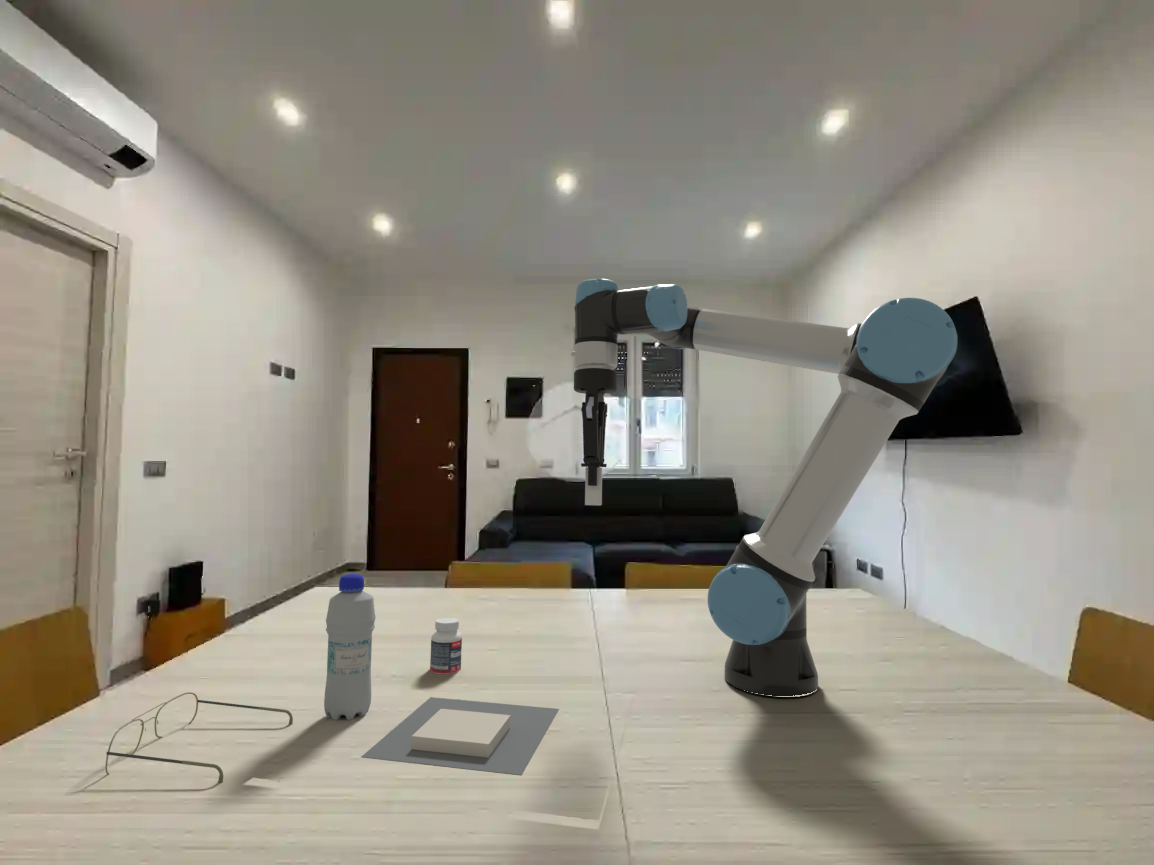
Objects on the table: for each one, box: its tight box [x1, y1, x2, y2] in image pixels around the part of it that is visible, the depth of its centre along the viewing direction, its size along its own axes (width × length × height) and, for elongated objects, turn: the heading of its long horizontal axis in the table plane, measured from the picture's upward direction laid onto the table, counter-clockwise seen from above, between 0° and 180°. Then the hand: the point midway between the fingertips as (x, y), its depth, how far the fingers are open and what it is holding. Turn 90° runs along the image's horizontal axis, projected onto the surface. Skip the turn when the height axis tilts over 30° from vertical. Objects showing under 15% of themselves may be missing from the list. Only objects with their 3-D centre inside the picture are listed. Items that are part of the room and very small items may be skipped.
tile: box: [411, 709, 511, 758], centre depth 80 cm, size 10×2×9 cm
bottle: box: [323, 573, 376, 721], centre depth 89 cm, size 7×7×20 cm
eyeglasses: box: [104, 691, 294, 784], centre depth 78 cm, size 16×15×5 cm
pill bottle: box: [429, 617, 463, 675], centre depth 108 cm, size 5×5×9 cm
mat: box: [360, 696, 560, 776], centre depth 83 cm, size 20×20×1 cm
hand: (593, 504), depth 108 cm, fingers closed
